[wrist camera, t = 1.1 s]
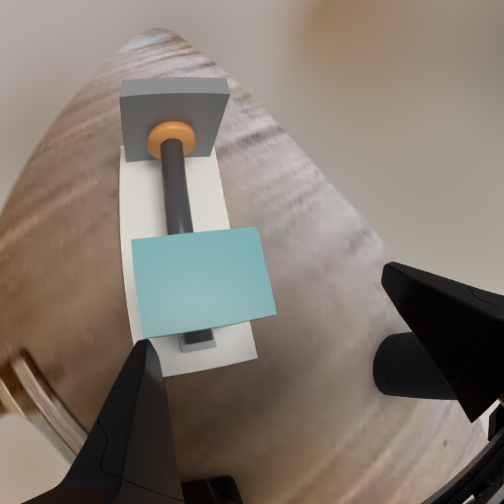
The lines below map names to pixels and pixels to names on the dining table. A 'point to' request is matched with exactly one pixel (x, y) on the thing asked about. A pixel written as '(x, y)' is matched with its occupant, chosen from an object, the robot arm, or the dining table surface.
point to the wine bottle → (408, 370)
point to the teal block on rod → (200, 281)
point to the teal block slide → (175, 199)
